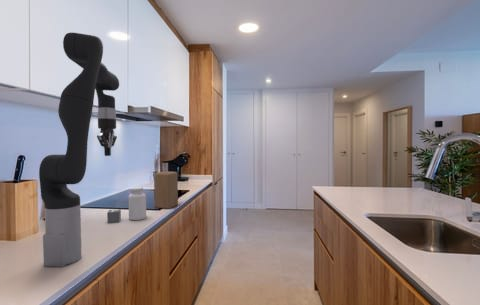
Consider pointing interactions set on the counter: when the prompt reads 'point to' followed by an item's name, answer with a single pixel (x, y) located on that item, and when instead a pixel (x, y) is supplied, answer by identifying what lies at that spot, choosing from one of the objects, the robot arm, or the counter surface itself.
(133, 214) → the pill bottle
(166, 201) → the wooden block
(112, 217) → the number cube
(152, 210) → the counter surface
